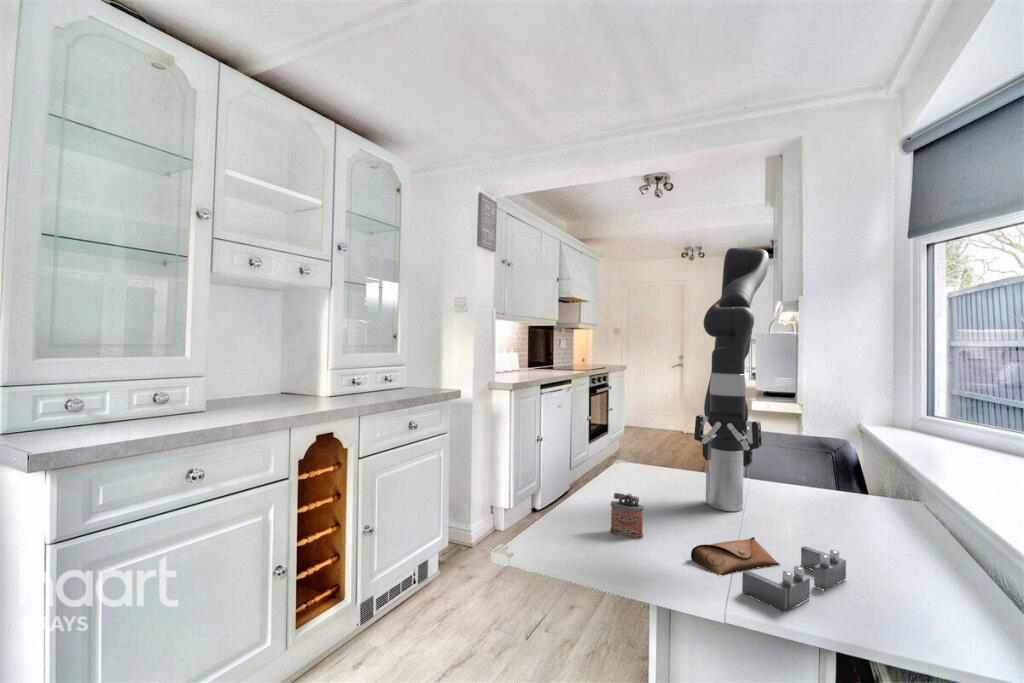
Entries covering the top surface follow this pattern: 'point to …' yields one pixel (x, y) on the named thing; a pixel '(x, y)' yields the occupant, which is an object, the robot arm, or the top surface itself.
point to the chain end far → (824, 566)
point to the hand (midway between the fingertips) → (726, 463)
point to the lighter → (627, 516)
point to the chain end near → (778, 589)
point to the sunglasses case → (732, 556)
